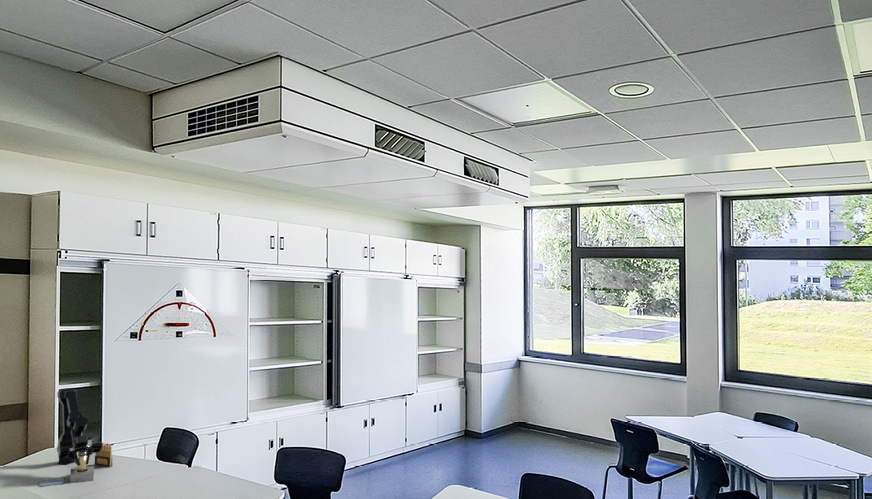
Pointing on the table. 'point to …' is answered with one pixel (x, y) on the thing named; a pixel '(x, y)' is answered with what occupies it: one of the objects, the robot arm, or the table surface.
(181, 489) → the table surface
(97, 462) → the ammunition clip
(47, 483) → the rubber mat
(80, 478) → the metal housing
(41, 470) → the table surface
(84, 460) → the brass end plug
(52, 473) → the table surface
